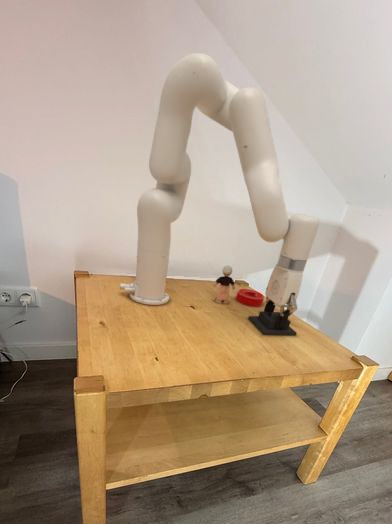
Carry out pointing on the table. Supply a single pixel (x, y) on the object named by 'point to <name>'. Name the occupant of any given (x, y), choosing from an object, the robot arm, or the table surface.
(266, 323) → the top pad
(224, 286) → the grandmother figurine
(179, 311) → the table surface
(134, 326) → the table surface
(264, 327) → the base pad
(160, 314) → the table surface
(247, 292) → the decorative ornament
